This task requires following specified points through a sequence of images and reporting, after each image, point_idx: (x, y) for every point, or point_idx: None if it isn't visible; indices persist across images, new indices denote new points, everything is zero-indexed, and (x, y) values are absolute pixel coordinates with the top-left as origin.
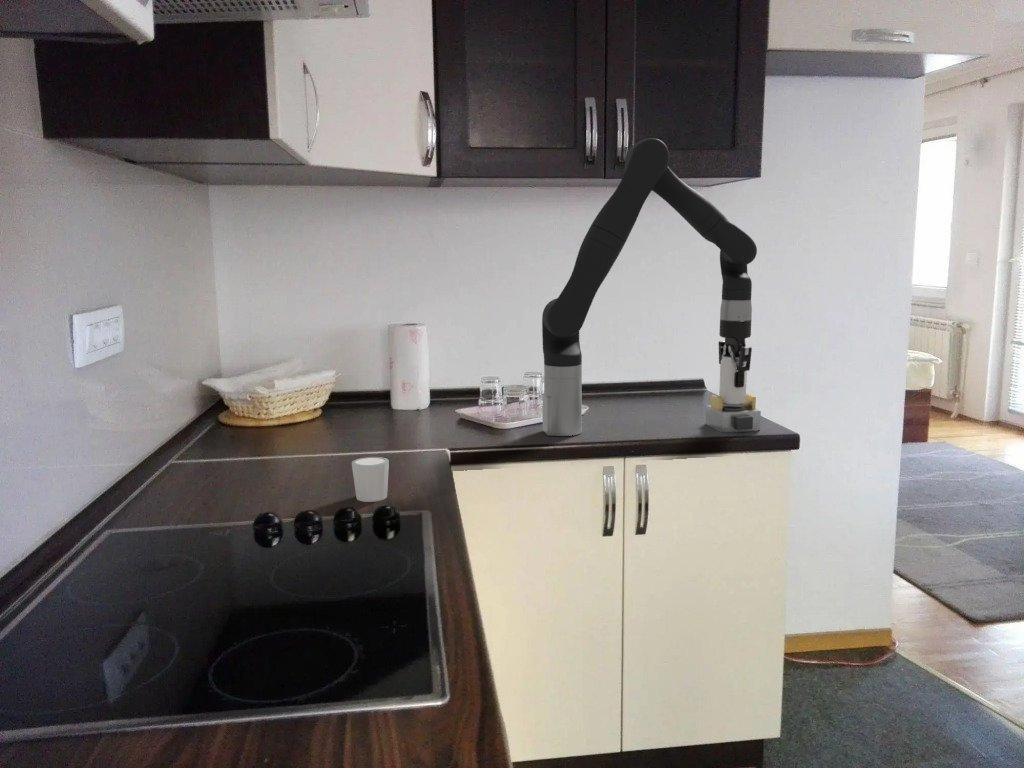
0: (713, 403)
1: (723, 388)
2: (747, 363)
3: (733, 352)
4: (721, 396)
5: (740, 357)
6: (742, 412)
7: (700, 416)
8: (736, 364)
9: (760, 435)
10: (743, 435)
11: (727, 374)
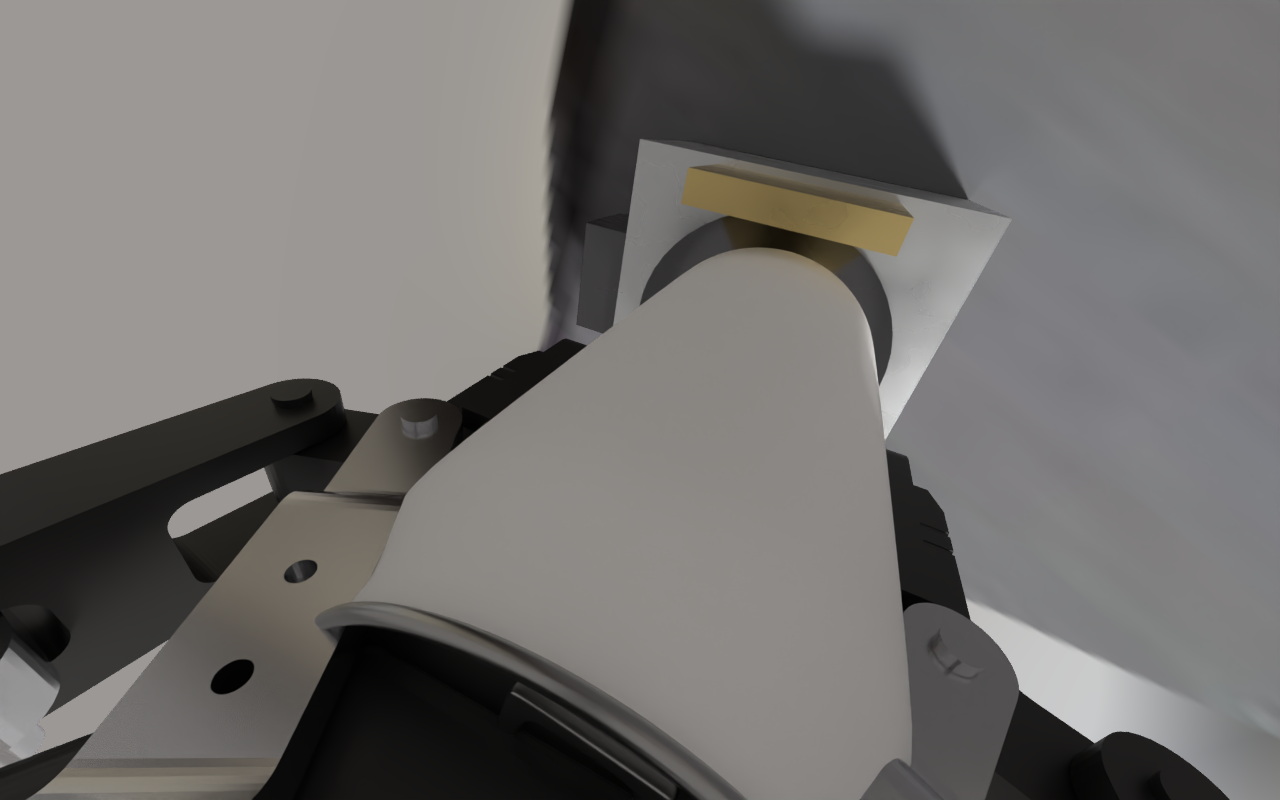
0: (840, 194)
1: (708, 276)
2: (235, 536)
3: (106, 761)
4: (760, 257)
5: (3, 510)
6: (619, 302)
7: (1238, 348)
8: (338, 475)
9: (567, 298)
10: (592, 220)
11: (587, 354)
